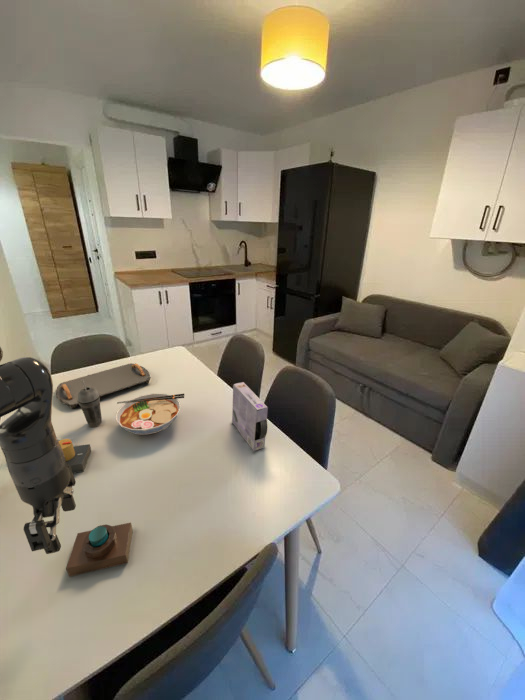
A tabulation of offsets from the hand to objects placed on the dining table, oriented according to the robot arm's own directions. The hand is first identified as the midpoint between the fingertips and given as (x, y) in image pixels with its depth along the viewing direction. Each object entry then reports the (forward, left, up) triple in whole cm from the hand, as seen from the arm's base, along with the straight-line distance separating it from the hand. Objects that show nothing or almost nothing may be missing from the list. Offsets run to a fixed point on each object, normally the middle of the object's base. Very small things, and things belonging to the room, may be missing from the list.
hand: (62, 528), depth 57 cm
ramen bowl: (+10, +51, -17) cm, 54 cm away
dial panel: (-14, +37, -16) cm, 42 cm away
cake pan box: (+46, +37, -17) cm, 61 cm away
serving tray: (-12, +85, -17) cm, 87 cm away
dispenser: (+3, +5, -16) cm, 17 cm away
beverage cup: (-11, +57, -17) cm, 60 cm away
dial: (-14, +37, -13) cm, 41 cm away
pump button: (+3, +5, -12) cm, 13 cm away
